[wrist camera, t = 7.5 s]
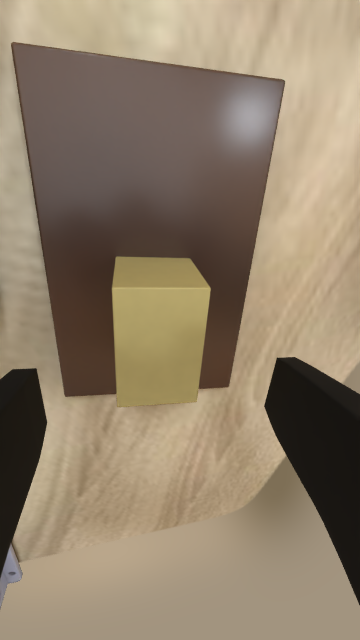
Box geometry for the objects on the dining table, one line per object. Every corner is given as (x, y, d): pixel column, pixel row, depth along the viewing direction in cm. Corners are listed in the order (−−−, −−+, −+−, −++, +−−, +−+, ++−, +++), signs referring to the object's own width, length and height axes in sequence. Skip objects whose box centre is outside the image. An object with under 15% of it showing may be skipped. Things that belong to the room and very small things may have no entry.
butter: (182, 353, 15) (197, 402, 12) (119, 355, 14) (117, 407, 11) (190, 257, 13) (211, 288, 9) (115, 256, 12) (111, 287, 9)
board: (224, 376, 17) (229, 387, 17) (68, 384, 16) (64, 397, 15) (274, 86, 11) (286, 79, 10) (20, 52, 9) (9, 40, 9)
